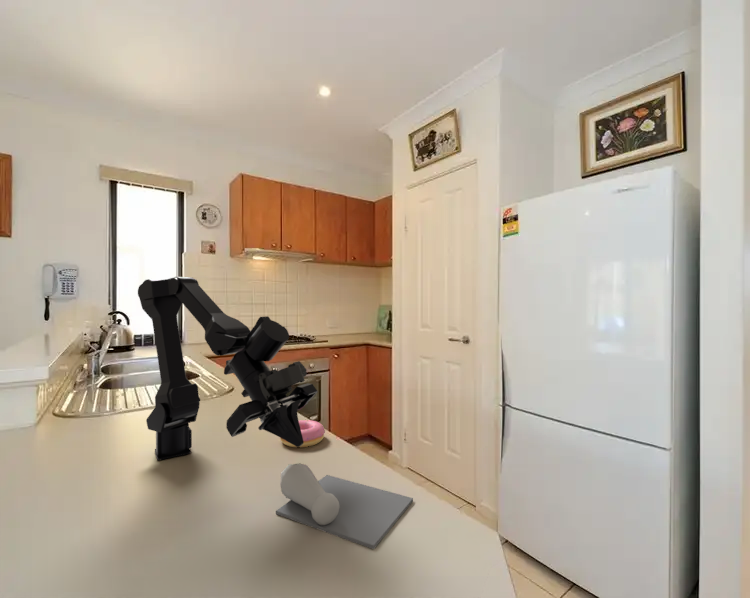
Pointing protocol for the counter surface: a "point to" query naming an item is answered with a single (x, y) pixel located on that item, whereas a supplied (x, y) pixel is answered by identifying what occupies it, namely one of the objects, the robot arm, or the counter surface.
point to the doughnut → (309, 433)
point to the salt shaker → (308, 493)
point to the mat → (354, 511)
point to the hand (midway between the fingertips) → (301, 445)
